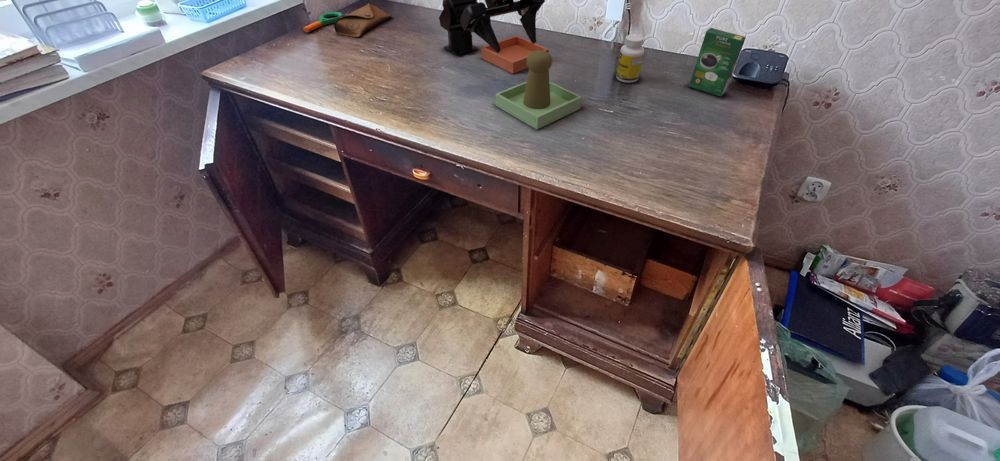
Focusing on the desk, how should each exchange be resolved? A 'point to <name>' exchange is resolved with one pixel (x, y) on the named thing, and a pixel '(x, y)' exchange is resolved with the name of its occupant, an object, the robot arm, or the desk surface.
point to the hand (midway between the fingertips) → (517, 47)
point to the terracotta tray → (511, 53)
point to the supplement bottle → (630, 59)
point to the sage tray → (537, 118)
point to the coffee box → (716, 61)
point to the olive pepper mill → (538, 80)
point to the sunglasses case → (360, 21)
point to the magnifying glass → (323, 21)
